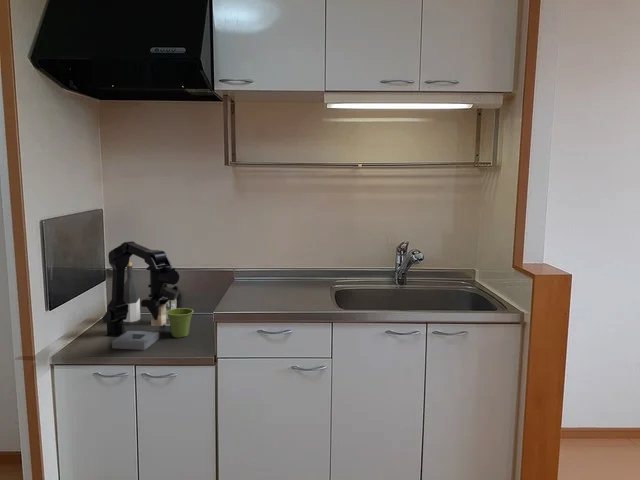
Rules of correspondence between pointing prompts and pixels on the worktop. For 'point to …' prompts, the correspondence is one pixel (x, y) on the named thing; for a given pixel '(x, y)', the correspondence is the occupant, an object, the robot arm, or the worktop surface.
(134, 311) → the wine bottle
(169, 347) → the worktop surface
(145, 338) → the socket block
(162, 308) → the maple peg
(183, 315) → the plant pot
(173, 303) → the beer glass
